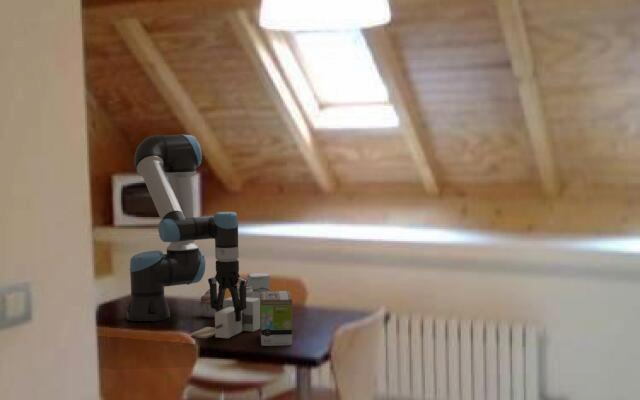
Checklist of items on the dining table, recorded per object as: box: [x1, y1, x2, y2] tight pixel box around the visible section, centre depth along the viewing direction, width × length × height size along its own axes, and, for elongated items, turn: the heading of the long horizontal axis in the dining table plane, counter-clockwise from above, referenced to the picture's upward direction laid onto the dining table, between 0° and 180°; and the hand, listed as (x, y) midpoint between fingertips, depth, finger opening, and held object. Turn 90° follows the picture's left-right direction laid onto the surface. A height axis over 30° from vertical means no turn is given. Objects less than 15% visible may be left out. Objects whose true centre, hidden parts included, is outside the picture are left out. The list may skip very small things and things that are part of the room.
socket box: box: [223, 296, 260, 333], centre depth 307 cm, size 11×6×10 cm, turn 67°
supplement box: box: [246, 272, 271, 298], centre depth 339 cm, size 7×7×13 cm
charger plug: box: [214, 307, 244, 339], centre depth 298 cm, size 4×16×8 cm, turn 157°
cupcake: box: [197, 288, 224, 319], centre depth 327 cm, size 9×9×10 cm
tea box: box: [259, 290, 293, 347], centre depth 290 cm, size 15×10×15 cm, turn 5°
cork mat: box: [189, 326, 215, 339], centre depth 301 cm, size 7×12×1 cm, turn 157°
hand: (228, 330), depth 298 cm, fingers closed on charger plug, 4 cm apart
